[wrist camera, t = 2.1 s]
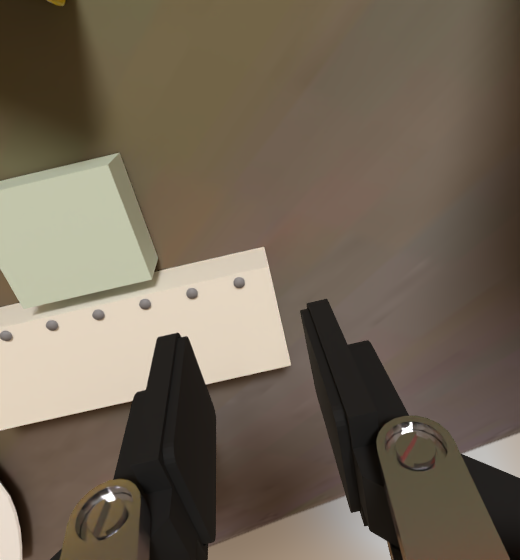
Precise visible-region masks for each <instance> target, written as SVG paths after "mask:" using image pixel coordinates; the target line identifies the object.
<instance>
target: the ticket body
mask: <svg viewBox="0 0 520 560" xmlns="http://www.w3.org/2000/svg"><path fill="white" fill-rule="evenodd" d="M174 333H179V334H180V335H181V337H185V336H187V337H188V338H189V340H190V343H191V346H192V348H193V351H194V354H195V357H196V359H197V362H198V365H199V368H200V370H201V373H202V376H203V379H204V381H205V384H210V383H215V382H219V381H224V380H228V379H233V378H237V377H242V376H246V375H251V374H255V373H259V372H264V371H268V370H273V369H277V368H282V367H286V366H291V363H290V358H289V354H288V350H287V345H286V341H285V336H284V332H283V327H282V323H281V319H280V314H279V310H278V305H277V301H276V296H275V292H274V288H273V283H272V279H271V274H270V270H269V266H268V261H267V257H266V253H265V249H264V247H261V248H256V249H252V250H248V251H243V252H239V253H235V254H230V255H226V256H221V257H217V258H213V259H208V260H204V261H200V262H195V263H191V264H187V265H182V266H178V267H174V268H169V269H165V270H161V271H156V272H154V274H153V278H152V280H148V281H143V282H139V283H135V284H130V285H126V286H122V287H117V288H113V289H109V290H104V291H100V292H96V293H91V294H87V295H82V296H78V297H74V298H69V299H65V300H61V301H56V302H52V303H48V304H43V305H39V306H35V307H30V308H26V309H23V307H22V305H21V303H17V304H13V305H8V306H4V307H0V430H4V429H9V428H13V427H17V426H22V425H26V424H31V423H35V422H40V421H44V420H49V419H53V418H58V417H62V416H67V415H71V414H76V413H80V412H85V411H89V410H94V409H98V408H103V407H107V406H112V405H116V404H121V403H125V402H130V401H133V398H134V395H135V394H136V393H137V392H139V391H143V390H146V387H147V382H148V377H149V373H150V368H151V363H152V358H153V354H154V349H155V344H156V340H157V338H158V337H160V336H165V335H169V334H174Z"/></svg>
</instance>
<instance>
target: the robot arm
mask: <svg viewBox="0 0 520 560" xmlns="http://www.w3.org/2000/svg"><path fill="white" fill-rule="evenodd" d="M300 313H301V318H302V323H303V328H304V333H305V339H306V344H307V349H308V354H309V359H310V364H311V369H312V374H313V379H314V384H315V389H316V393H317V397H318V401H319V404H320V407H321V411H322V414H323V418H324V421H325V425H326V428H327V432H328V435H329V439H330V442H331V446H332V449H333V453H334V456H335V459H336V463H337V466H338V470H339V473H340V477H341V480H342V484H343V487H344V491H345V494H346V498H347V501H348V504H349V508H350V511H351V513H352V512H357V511H360V513H361V516H362V520H363V523H364V526H368V527H369V530H370V531H371V532H373V533H375V534H376V535H378V536H380V537H381V538H383V539H385V540H386V541H387V543H388V547H389V552H390V556H391V559H392V560H520V478H518V477H515V476H513V475H511V474H508V473H506V472H504V471H501V470H499V469H496V468H494V467H492V466H489V465H487V464H484V463H482V462H479V461H477V460H475V459H472V458H470V457H468V456H465V455H463V454H460V452H459V450H458V447H457V445H456V443H455V441H454V439H453V438H452V436H451V435H450V433H449V432H448V431H447V430H446V429H445V428H444V427H442V426H441V425H440V424H439V423H437V422H435V421H433V420H430V419H428V418H424V417H420V416H409V415H408V413H407V411H406V409H405V407H404V405H403V403H402V401H401V399H400V398H399V396H398V394H397V392H396V390H395V388H394V386H393V384H392V382H391V380H390V379H389V377H388V375H387V373H386V371H385V369H384V367H383V365H382V363H381V361H380V359H379V358H378V356H377V354H376V352H375V350H374V348H373V346H372V344H371V343H370V342H369V341H368V340H367V341H362V342H358V343H354V344H349V345H347V343H346V340H345V338H344V336H343V333H342V331H341V329H340V327H339V324H338V322H337V320H336V318H335V315H334V313H333V311H332V309H331V306H330V304H329V302H328V300H327V299H324V300H319V301H315V302H311V303H307V309H304V310H300ZM215 535H216V415H215V410H214V406H213V403H212V401H211V398H210V395H209V392H208V390H207V387H206V384H205V381H204V379H203V376H202V373H201V370H200V368H199V365H198V362H197V359H196V357H195V354H194V351H193V348H192V346H191V343H190V340H189V338H188V337H187V336H185V337H181V335H180V334H179V333H174V334H169V335H165V336H160V337H158V338H157V340H156V344H155V349H154V354H153V358H152V363H151V368H150V373H149V377H148V382H147V387H146V390H143V391H139V392H137V393H136V394H135V395H134V398H133V401H132V405H131V409H130V414H129V418H128V422H127V426H126V430H125V434H124V438H123V442H122V446H121V450H120V454H119V459H118V463H117V467H116V471H115V475H114V479H113V480H109V481H107V482H105V483H102V484H100V485H98V486H96V487H95V488H94V489H92V490H91V491H89V492H88V493H87V494H86V495H85V496H84V497H83V498H82V499H81V500H80V501H79V502H78V504H77V505H76V507H75V508H74V510H73V512H72V513H71V516H70V519H69V522H68V525H67V529H66V534H65V538H64V543H63V547H62V549H61V550H60V551H59V552H58V553H57V554H55V555H54V556H53V557H52V558H51V559H50V560H207V559H208V543H212V542H214V541H215Z"/></svg>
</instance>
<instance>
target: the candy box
mask: <svg viewBox="0 0 520 560" xmlns="http://www.w3.org/2000/svg"><path fill="white" fill-rule="evenodd" d="M46 1H48V2H51V3H53V4H55V5H58V6H64V4H65V1H66V0H46Z"/></svg>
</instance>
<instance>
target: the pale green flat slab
mask: <svg viewBox="0 0 520 560" xmlns="http://www.w3.org/2000/svg"><path fill="white" fill-rule="evenodd" d="M157 261H158V256H157V254H156V251H155V248H154V245H153V243H152V240H151V237H150V234H149V232H148V229H147V226H146V224H145V221H144V218H143V215H142V213H141V210H140V207H139V204H138V202H137V199H136V196H135V193H134V191H133V188H132V185H131V183H130V180H129V177H128V174H127V172H126V169H125V166H124V163H123V161H122V158H121V155H120V153H116V154H112V155H108V156H104V157H100V158H95V159H91V160H87V161H83V162H78V163H74V164H70V165H66V166H62V167H57V168H53V169H49V170H45V171H40V172H36V173H32V174H28V175H24V176H19V177H15V178H11V179H7V180H3V181H0V269H1V271H2V272H3V274H4V276H5V277H6V279H7V281H8V283H9V284H10V286H11V288H12V290H13V291H14V293H15V295H16V297H17V298H18V300H19V302H20V303H21V305H22V307H23V309H26V308H30V307H35V306H39V305H43V304H48V303H52V302H56V301H61V300H65V299H69V298H74V297H78V296H82V295H87V294H91V293H96V292H100V291H104V290H109V289H113V288H117V287H122V286H126V285H130V284H135V283H139V282H143V281H148V280H152V278H153V274H154V271H155V267H156V264H157Z"/></svg>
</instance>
